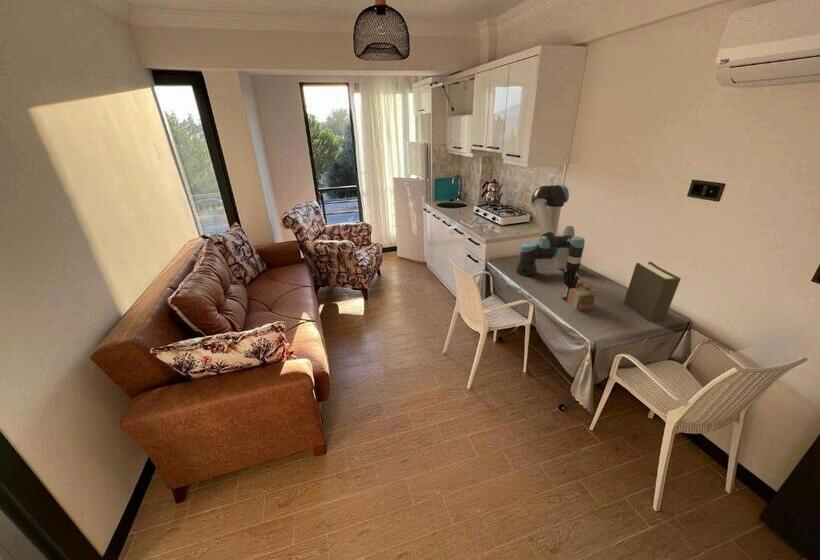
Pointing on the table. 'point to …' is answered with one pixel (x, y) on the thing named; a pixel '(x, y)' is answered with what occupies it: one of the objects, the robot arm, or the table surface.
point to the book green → (579, 296)
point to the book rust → (572, 294)
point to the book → (651, 291)
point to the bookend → (568, 293)
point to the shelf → (586, 301)
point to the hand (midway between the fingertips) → (567, 295)
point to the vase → (564, 250)
